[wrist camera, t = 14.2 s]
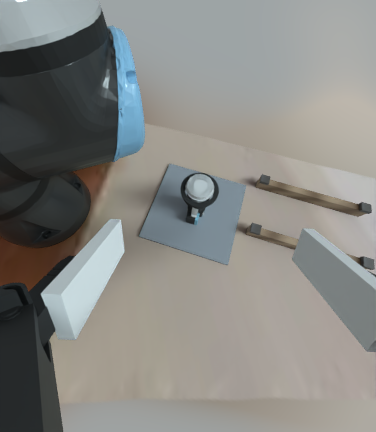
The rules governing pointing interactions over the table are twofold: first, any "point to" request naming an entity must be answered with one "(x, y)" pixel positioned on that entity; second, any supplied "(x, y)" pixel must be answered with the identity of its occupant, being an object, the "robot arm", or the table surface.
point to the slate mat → (207, 225)
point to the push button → (198, 194)
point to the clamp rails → (309, 197)
